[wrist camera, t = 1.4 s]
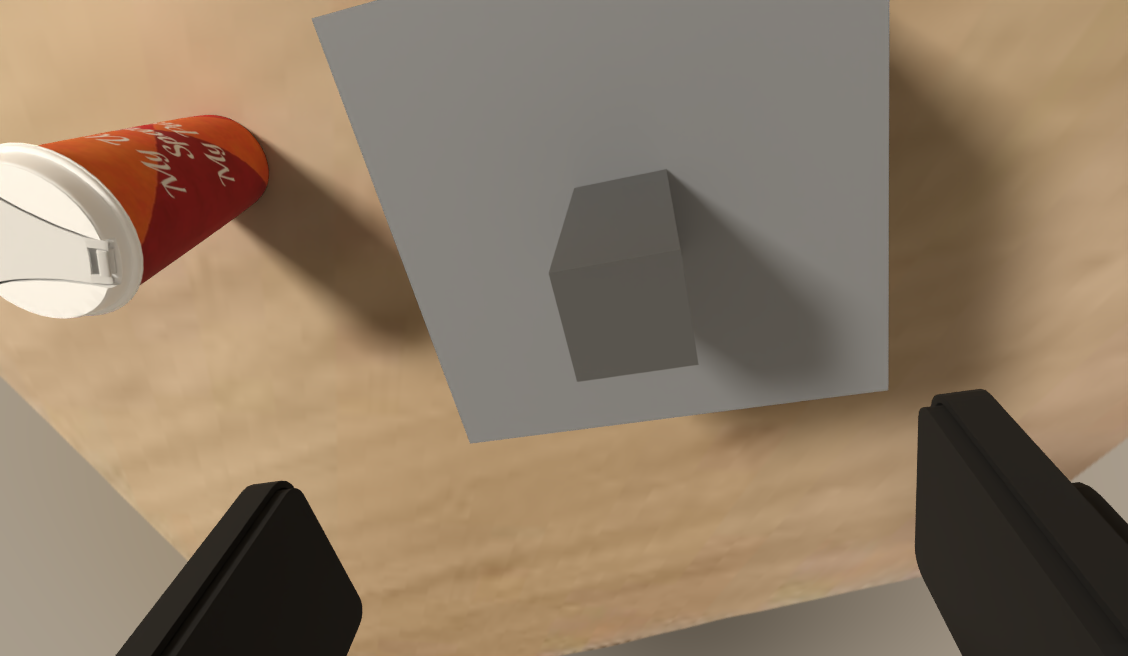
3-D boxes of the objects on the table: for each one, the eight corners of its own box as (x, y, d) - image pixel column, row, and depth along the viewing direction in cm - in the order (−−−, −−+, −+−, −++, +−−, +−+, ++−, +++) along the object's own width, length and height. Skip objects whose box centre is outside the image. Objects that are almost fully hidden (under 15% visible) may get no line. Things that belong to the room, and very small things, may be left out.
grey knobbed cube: (762, -78, 31) (1053, -229, 10) (785, 227, 38) (981, 537, 17) (457, 4, 34) (155, 33, 13) (531, 272, 42) (419, 584, 20)
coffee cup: (288, 114, 39) (109, 179, 25) (286, 236, 43) (130, 347, 29) (153, 79, 38) (-97, 126, 25) (164, 205, 42) (-48, 303, 29)
